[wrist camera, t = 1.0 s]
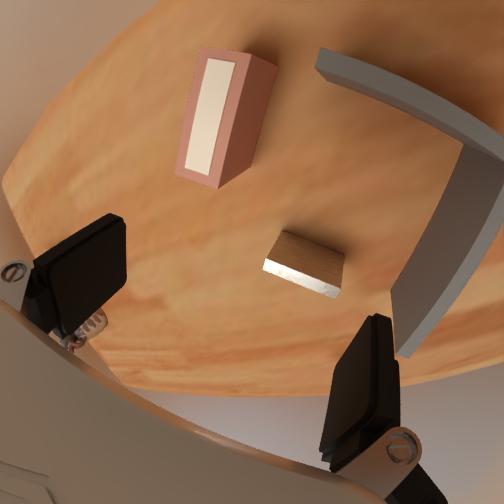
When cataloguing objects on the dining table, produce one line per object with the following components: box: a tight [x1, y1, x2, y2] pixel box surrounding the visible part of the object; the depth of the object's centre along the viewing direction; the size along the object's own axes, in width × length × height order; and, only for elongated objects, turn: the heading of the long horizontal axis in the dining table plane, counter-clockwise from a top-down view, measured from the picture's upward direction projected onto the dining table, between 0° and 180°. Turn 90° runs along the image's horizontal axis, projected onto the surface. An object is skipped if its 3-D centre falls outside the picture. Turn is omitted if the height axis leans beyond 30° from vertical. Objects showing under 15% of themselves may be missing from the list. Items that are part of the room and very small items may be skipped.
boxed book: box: [174, 46, 278, 189], centre depth 26 cm, size 12×4×9 cm, turn 165°
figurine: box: [60, 308, 107, 354], centre depth 54 cm, size 7×7×12 cm
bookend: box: [262, 230, 344, 299], centre depth 34 cm, size 6×8×7 cm
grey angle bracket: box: [315, 48, 504, 358], centre depth 25 cm, size 22×18×11 cm
